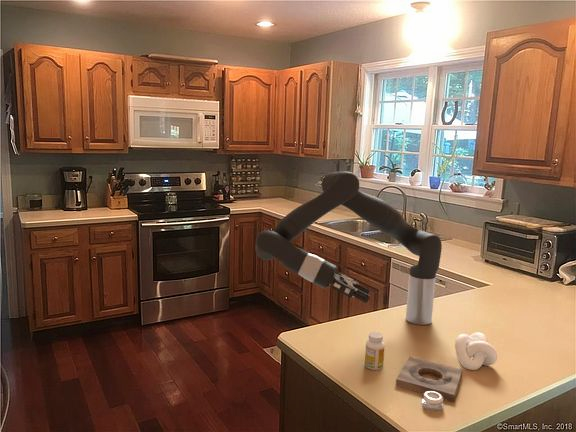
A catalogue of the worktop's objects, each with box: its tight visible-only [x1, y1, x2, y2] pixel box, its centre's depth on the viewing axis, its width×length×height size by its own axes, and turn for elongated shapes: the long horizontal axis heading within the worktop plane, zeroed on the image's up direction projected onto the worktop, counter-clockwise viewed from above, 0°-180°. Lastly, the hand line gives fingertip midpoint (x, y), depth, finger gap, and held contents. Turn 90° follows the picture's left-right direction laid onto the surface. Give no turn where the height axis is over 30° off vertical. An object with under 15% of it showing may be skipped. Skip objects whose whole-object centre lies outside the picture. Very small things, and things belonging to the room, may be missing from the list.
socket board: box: [395, 355, 463, 403], centre depth 127 cm, size 15×15×2 cm
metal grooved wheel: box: [421, 391, 445, 413], centre depth 115 cm, size 5×3×5 cm
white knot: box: [454, 331, 498, 371], centre depth 136 cm, size 11×12×9 cm
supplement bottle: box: [364, 331, 386, 371], centre depth 134 cm, size 5×5×10 cm
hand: (368, 296), depth 130 cm, fingers open, 8 cm apart
